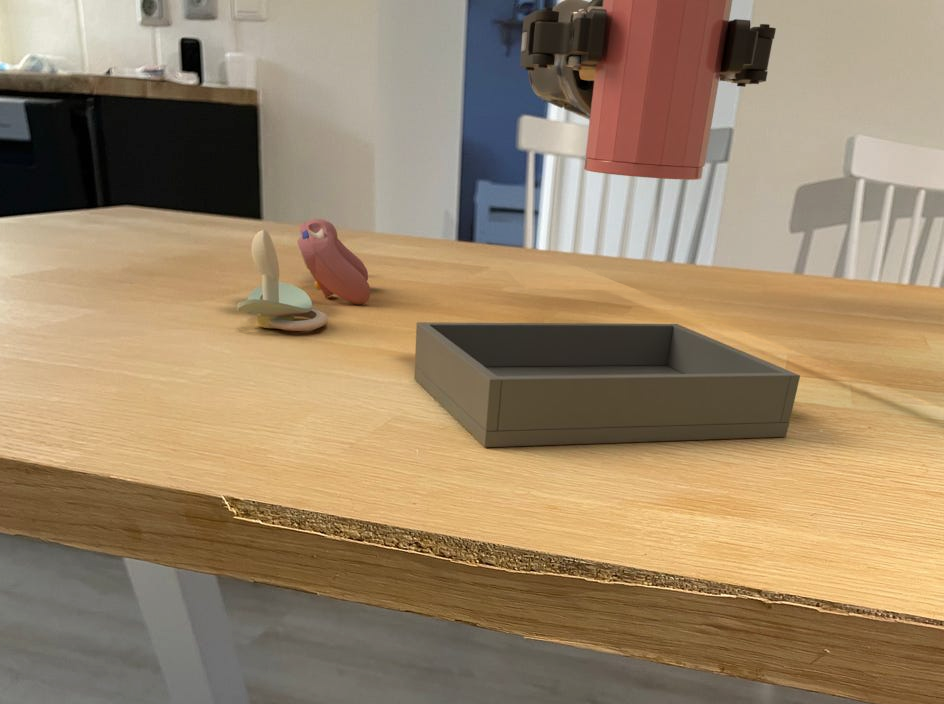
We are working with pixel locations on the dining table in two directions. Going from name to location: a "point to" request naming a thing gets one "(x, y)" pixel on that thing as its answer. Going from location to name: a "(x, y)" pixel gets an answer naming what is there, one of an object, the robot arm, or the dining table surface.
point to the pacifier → (277, 294)
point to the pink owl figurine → (332, 262)
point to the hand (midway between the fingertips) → (669, 40)
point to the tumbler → (656, 87)
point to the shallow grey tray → (599, 383)
